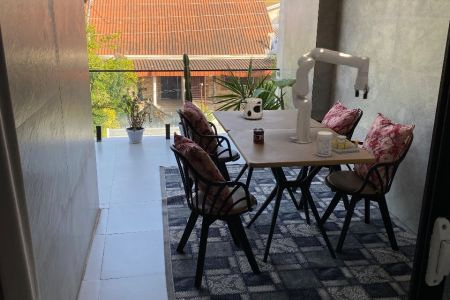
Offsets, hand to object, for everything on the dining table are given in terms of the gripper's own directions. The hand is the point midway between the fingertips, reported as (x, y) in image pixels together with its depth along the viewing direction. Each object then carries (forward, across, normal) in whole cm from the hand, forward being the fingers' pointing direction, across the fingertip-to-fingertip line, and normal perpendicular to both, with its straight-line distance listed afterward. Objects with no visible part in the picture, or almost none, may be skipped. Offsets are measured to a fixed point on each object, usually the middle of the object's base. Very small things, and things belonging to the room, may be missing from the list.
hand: (360, 98), depth 318 cm
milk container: (+31, -94, -46) cm, 109 cm away
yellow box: (+28, +24, -27) cm, 46 cm away
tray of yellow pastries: (+30, +22, -29) cm, 47 cm away
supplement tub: (+31, +31, -48) cm, 65 cm away
